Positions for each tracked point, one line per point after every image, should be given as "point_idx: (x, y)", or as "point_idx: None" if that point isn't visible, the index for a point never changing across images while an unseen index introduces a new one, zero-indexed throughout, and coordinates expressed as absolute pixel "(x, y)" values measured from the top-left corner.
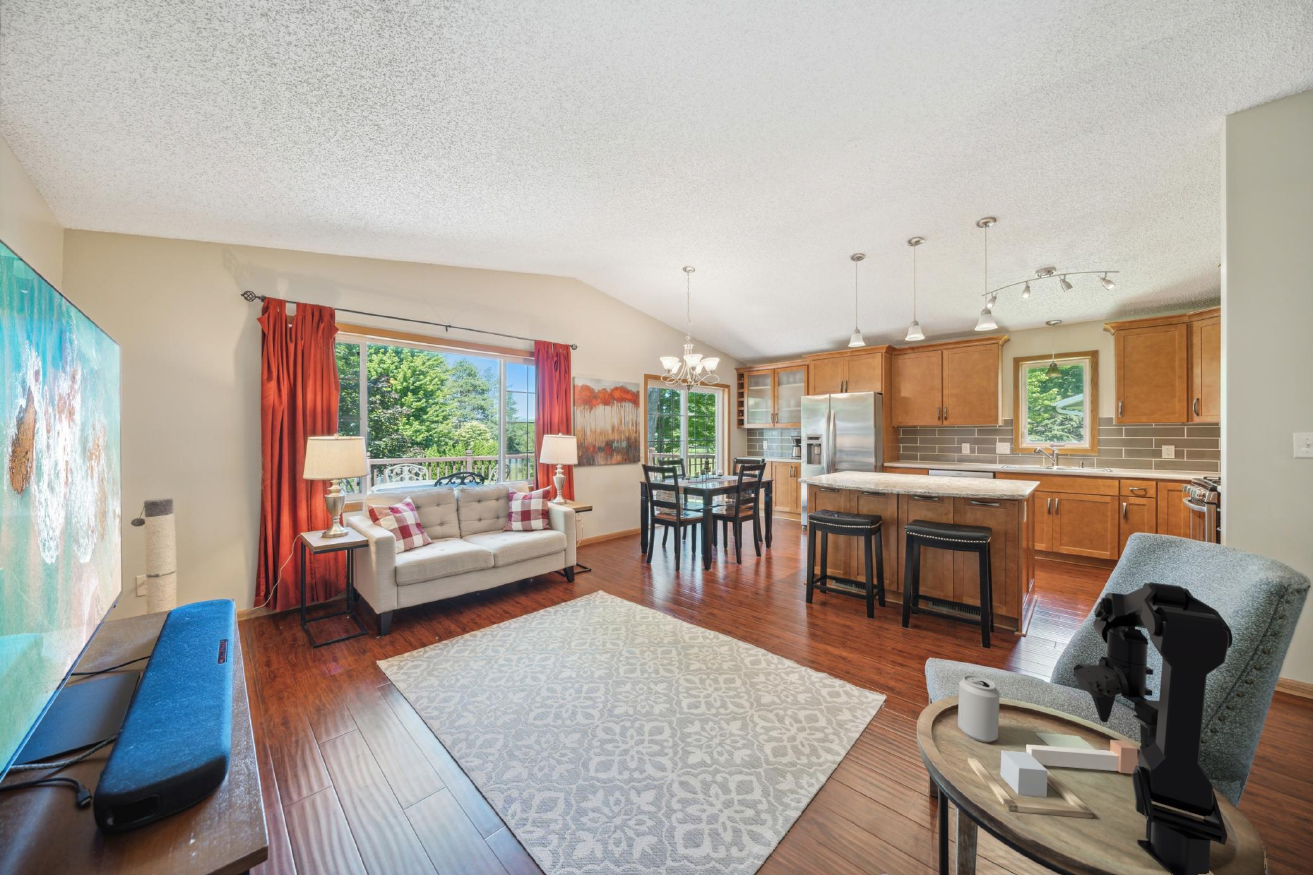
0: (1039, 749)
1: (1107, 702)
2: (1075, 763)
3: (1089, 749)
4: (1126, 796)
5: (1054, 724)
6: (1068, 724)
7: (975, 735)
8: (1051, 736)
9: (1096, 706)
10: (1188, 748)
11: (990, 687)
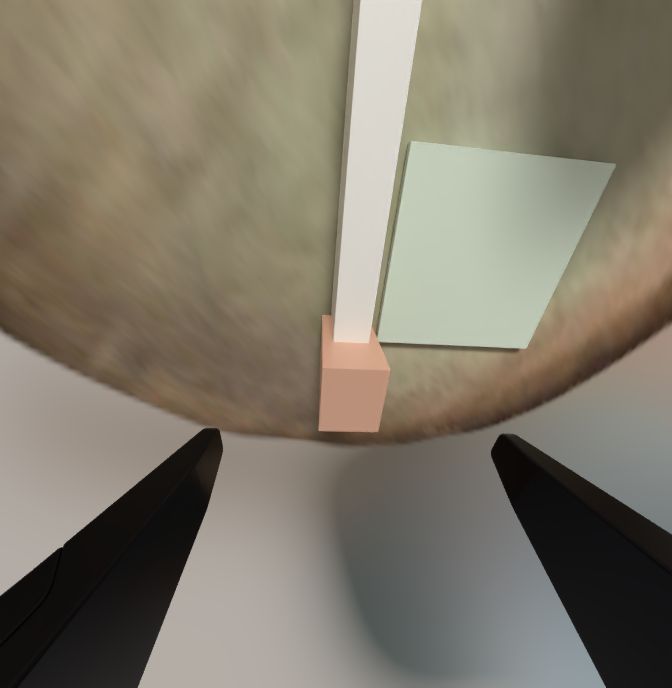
0: None
1: (616, 628)
2: (347, 102)
3: (385, 229)
4: (195, 220)
5: (607, 325)
6: (583, 373)
7: None
8: (564, 227)
9: (625, 513)
10: None
11: None
